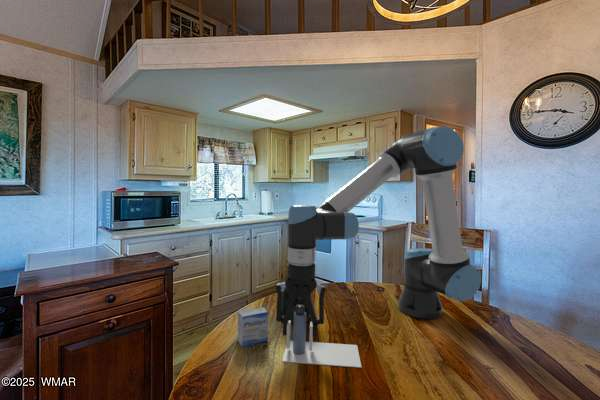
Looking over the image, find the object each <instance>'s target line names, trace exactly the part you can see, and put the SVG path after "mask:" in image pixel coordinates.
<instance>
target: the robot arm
mask: <svg viewBox="0 0 600 400" xmlns="http://www.w3.org/2000/svg"><path fill="white" fill-rule="evenodd" d="M464 151H465V149H464V142H463V139H462V137H461V136H460V134H459V132H457V131H456V130H454V129H453V128H452V127H449V126H447V125H446V126H444V125H440V126H435V127H430V128H426V129H423V130H420V131H417V132H412V133H407V134H405V135H403V136H402V137H400V138H398V140H396V141H395V142H394V143H392V144H391V145H389V146H388V148H387V147H386V149H385V150H384V151H382V152H381V153H380V154H378V157H377V160H375V161H374V162H373V163H372V164H370V165H369V166H368V167H367V168H365V169H364V170H363V171H361V172H360V173H358V175H357V176H355V177H354V178H352V180H350V181H349V182H348V183H347V184H345V185H344V186H343V187H341V188H340V189H339V190H338V191H336V192H335V193H333V195H331V196H330V197H329V198H327V199H326V200H325V201H324V202H322V203H320V205H318V206H316V205H313V204H294V205H291V206H290V207H289V209H288V219H287V240H288V242H287V262H288V263H287V265H286V266H287V267H286V268H287V269H286V270H287V272H286V273H287V274H286V275H287V276H286V279H287V280H286V282H284V283H281V282H277V284H276V285H275V290H276V293H277V297H276V313H275V314H276V315H275V321H276V322H280V323H282V335H283V336H286V345H285V348H286V349H289V348H290V341H291V339H292V338H291V335H292V334H291V327H292V323H291V321H290V320H288V318H289V315H290V312H291V309H292V305H293V302H294V299H295V298H298V297H302V298H306V302H307V305H308V309H309V313H310V320H311V321H309V322H310V323H309V341H308V342H309V350H311V351H312V345H313V342H314V340H313V339H314V338H317V336H318V325H324V324H325V306H324V305H325V301H324V297H325V293H326V291H327V286H326V284H319V283H317V281H316V264H315V262H316V258H317V257H316V252H317V241H324V240H325V241H326V240H327V241H328V240H329V241H330V240H332V241H333V240H343V241H344V240H348V239H349V240H350V239H354V238H356V236H357V235H358V233H359V229H360V228H359V227H360V225H359V223H360V222H359V219H358V216H357V215H356V214H355V213H353V212H351V211H352V210H353V209H354V208H355V207H356V206H358V205H359V204H360V203H361V202H363V201H364V200H365V199H366V198H367V197H369V196H370V195H371V194H372V193H373V192H375V191H376V190H377V189H378V188H380V187H381V186H382V185H383V184H385V183H386V182H387V181H388V180H390V179H391V178H392V177H393V178H395V177H398V176H399V175H401V174H402V173H403V172H405V171H408V170H412V169H414V172H415V176H416V177H417V178H418V179H419V180H421V185H422V188H423V189H422V190H423V196H424V197H423V198H424V202H425V210H426V215H427V221H428V222H427V223H428V229H429V236H430V240H431V241H430V242H431V248H423V247H418V248H407V249H406V250H405V253H404V258H403V261H404V264H403V267H404V268H403V289H402V291H401V293H400V296H399V298H398V301H397V302H398V303H397V309H399V311H400V312H401V313H403V314H405V315H407V316H410V317H412V318H417V319H423V320H437V319H439V317H440V318H441V317H442V316H443V306H442V303H441V300H440V295H439V294H441V295H444V296H446V297H447V298H449V299H453V300H456V301H459V302H464V301H468V300H470V299H472V298H473V297H474V296H475V295H476V294H477V292H478V290H479V289H480V287H481V284H482V274H481V271H480V270H479V268H477V267H476V266H475V265H473V264H471V260H470V255H469V253H468V252H467V251H465V250H464V249H463V243H462V236H461V229H460V223H459V222H460V221H459V214H458V208H457V199H456V194H455V187H454V181H453V180H454V179H453V175H454V173H455V172H456V171H457V170H458V166H457V164H458V163H459V162H460V161H461V159H462V156H463V155H464ZM285 287H287V289H288V290H289V292H290V293H291V297H290V300H289V303H288V306H287V310H286V313H285V316H283V315H282V305H283V291H284V290H285ZM315 290H316V293H317V294H318V295H319V296H318V316H319V317H317V313H316V309H315V306H314V302H313V297H312V293H313V292H314V291H315ZM441 315H442V316H441ZM436 318H437V319H436Z"/></svg>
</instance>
